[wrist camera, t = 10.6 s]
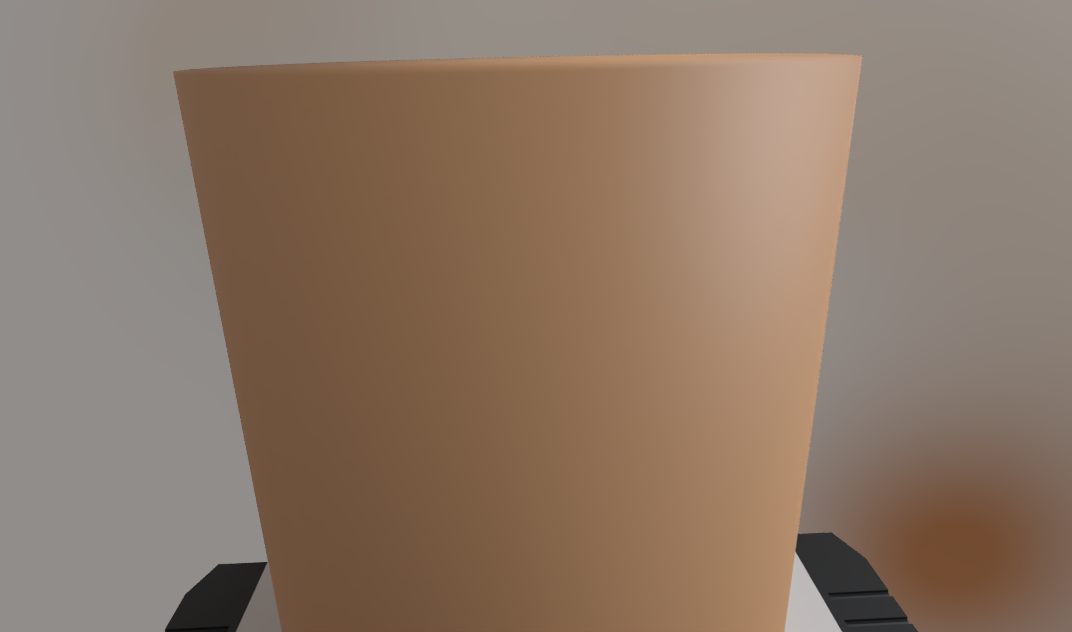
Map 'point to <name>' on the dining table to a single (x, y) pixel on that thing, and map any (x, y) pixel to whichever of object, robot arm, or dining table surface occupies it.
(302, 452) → the peg
